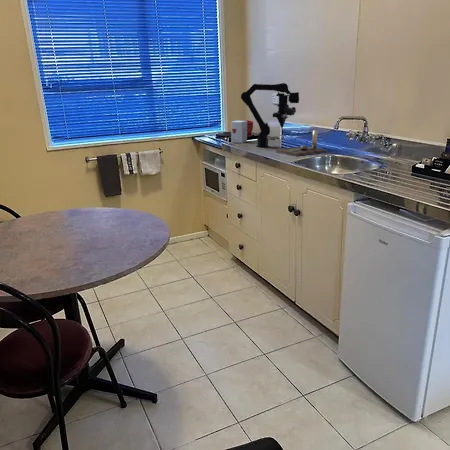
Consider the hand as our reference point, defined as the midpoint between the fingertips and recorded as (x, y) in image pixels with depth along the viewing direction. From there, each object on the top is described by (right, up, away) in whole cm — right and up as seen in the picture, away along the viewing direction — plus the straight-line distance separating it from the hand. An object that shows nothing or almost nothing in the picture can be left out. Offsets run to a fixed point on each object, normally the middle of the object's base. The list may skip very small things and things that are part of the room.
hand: (282, 127), depth 284 cm
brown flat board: (+9, -19, -16) cm, 27 cm away
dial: (+11, -18, -18) cm, 28 cm away
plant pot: (-23, +5, +55) cm, 59 cm away
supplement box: (-28, -4, +28) cm, 40 cm away
